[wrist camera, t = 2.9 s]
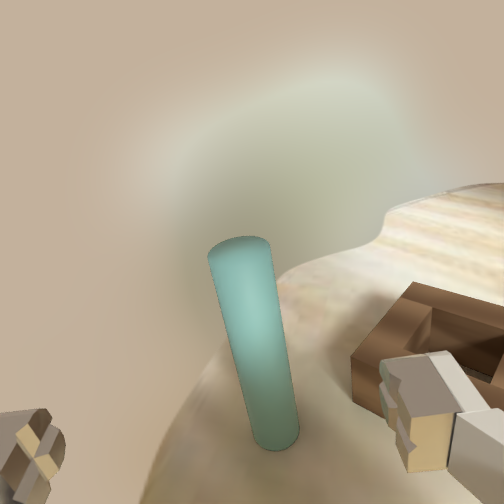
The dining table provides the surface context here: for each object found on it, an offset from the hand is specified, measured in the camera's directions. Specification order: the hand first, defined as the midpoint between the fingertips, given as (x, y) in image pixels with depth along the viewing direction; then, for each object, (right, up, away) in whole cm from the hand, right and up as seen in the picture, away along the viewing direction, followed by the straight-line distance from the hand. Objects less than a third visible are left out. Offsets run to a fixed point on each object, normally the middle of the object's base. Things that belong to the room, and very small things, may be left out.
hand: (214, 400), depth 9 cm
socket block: (+17, -7, +20) cm, 27 cm away
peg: (+3, -10, +20) cm, 22 cm away
